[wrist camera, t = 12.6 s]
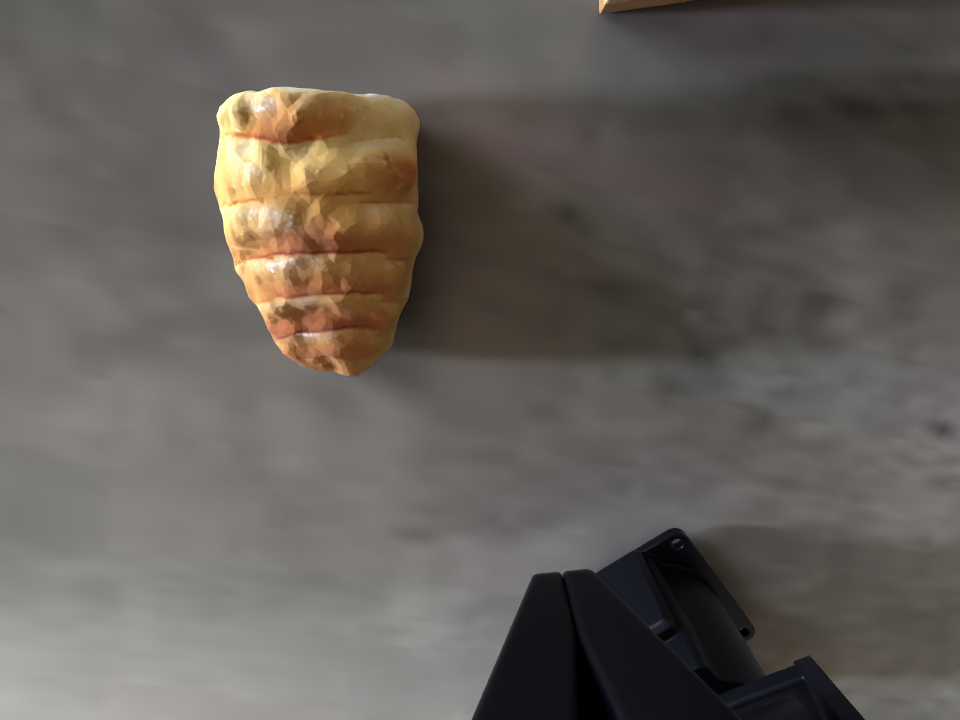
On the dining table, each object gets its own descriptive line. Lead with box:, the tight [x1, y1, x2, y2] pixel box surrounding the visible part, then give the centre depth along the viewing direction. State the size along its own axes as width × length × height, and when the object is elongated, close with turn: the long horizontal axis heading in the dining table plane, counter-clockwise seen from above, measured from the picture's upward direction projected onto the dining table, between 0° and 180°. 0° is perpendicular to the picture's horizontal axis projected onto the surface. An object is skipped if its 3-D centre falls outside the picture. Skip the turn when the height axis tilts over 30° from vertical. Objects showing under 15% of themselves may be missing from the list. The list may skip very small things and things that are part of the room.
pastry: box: [214, 87, 424, 376], centre depth 17 cm, size 9×7×4 cm
